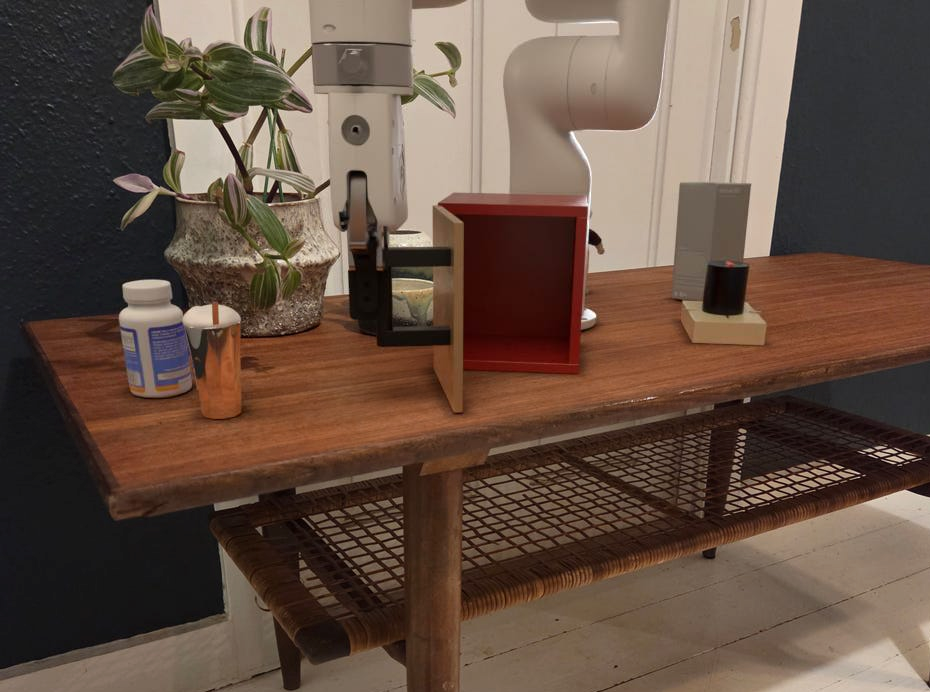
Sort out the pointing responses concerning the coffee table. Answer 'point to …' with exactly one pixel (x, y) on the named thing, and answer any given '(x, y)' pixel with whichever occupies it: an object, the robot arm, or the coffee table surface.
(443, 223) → the door
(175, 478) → the coffee table surface
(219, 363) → the milkshake
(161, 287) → the pill bottle
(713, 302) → the knob
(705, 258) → the cosmetic box
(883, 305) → the coffee table surface
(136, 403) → the coffee table surface
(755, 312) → the panel
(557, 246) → the red cabinet
